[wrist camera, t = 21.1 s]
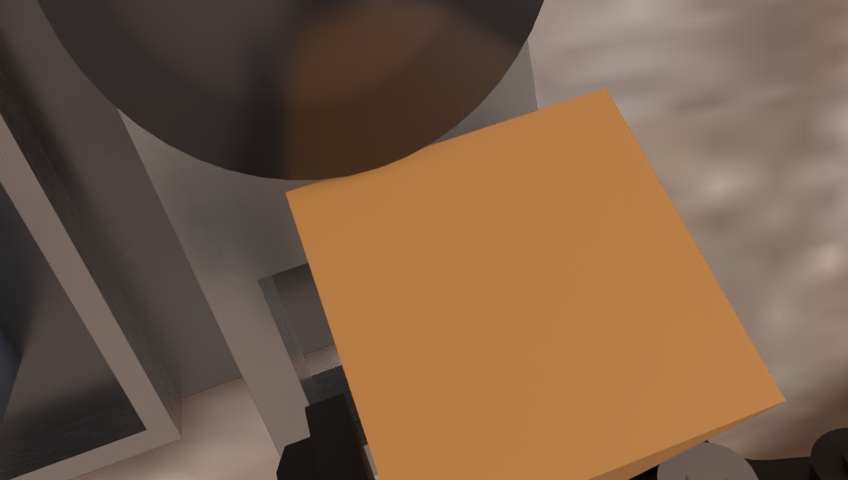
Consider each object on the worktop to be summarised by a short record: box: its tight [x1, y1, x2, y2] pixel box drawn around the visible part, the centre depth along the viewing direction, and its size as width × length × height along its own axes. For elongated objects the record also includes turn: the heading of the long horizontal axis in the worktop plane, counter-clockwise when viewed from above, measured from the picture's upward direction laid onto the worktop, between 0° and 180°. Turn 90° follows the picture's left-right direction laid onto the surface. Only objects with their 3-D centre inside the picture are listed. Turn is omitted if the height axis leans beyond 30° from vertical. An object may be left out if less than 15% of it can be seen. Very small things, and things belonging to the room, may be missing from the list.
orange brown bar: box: [285, 89, 786, 480], centre depth 11 cm, size 3×3×12 cm
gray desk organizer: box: [0, 0, 544, 480], centre depth 13 cm, size 16×20×14 cm
